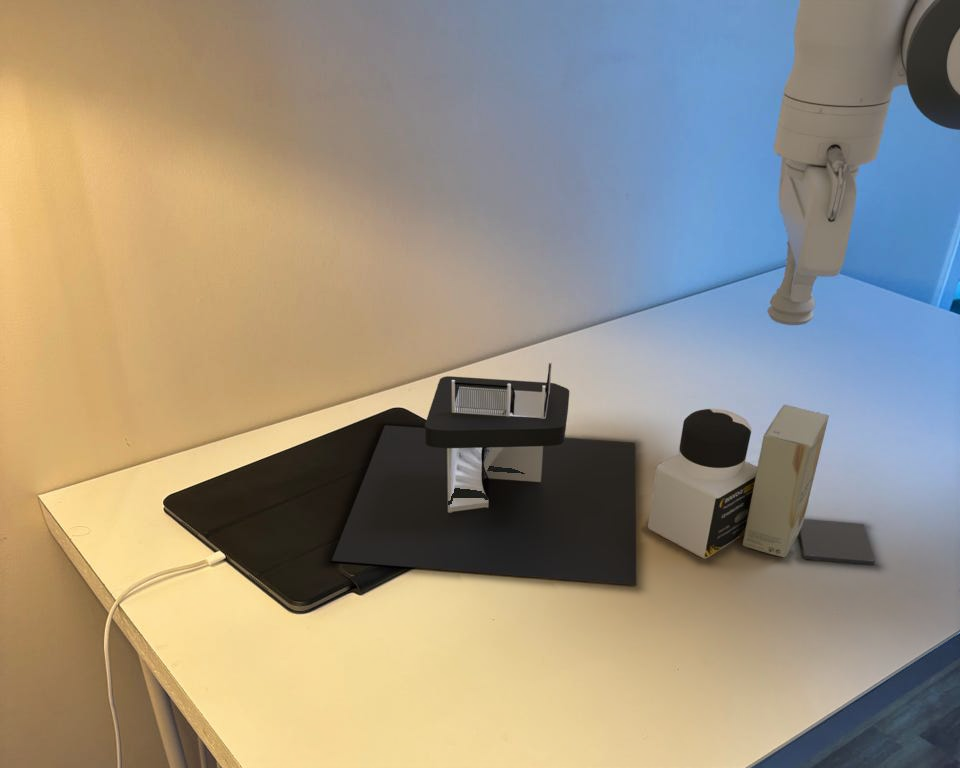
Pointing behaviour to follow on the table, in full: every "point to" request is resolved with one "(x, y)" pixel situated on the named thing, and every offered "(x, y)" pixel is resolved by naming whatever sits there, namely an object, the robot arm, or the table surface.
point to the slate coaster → (835, 542)
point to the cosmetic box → (784, 479)
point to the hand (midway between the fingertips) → (795, 290)
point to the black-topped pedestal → (497, 490)
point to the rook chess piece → (782, 304)
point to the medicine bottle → (705, 484)
